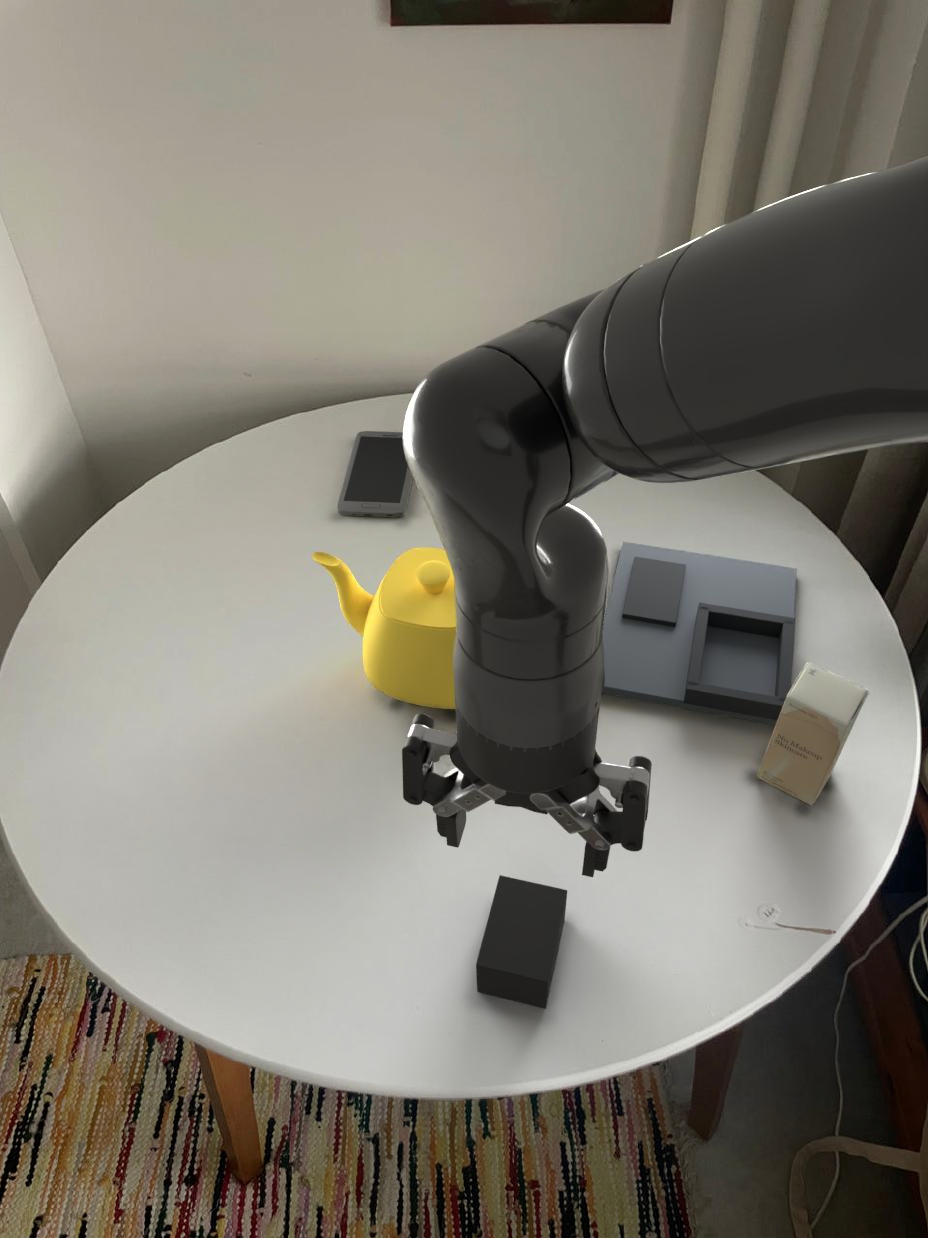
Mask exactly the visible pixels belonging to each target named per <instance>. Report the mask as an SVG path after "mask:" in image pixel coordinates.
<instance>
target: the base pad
mask: <svg viewBox="0 0 928 1238" xmlns="http://www.w3.org/2000/svg"><path fill="white" fill-rule="evenodd" d="M619 552H620V553H619V557H618V562H617V565H616V571H615V575H614V578H613V582H612V586H611V587H612V588H611V591H610V595H609V600H608V605H607V609H606V612H605V613H606V614H605V617H604V624H603V645H604V670H605V684H604V686H603V689H602V691H601V694H604V695H610V696H616V697H622V698H627V699H632V700H638V701H643V702H648V703H653V704H654V703H655V704H660V705H664V706H671V707H675V708H681V709H686V710H691V711H698V712H703V713H709V714H714V715H719V716H723V717H728V718H729V717H730V718H736V719H741V720H746V721H753V722H758V723H762V724H767V725H772V726H776V723H777V720H778V718H779V715H780V712H781V710H782V707H783V705H784V702H785V699H786V697H787V694H788V693H789V691H790V689H791V687H792V676H793V659H794V658H793V657H794V646H795V645H794V644H795V641H794V640H795V629H796V618H795V607H796V606H795V603H796V589H797V572H798V571H797V570H798V569H797V567H790V566H783V565H777V564H771V563H766V562H765V563H764V562H758V561H751V560H745V559H738V558H732V557H725V556H719V555H713V554H706V553H699V552H693V551H686V550H682V549H681V550H680V549H676V548H675V549H674V548H668V547H663V546H662V547H660V546H656V545H655V546H654V545H649V544H641V543H636V542H635V543H634V542H629V541H622V544H621V549H620V551H619Z"/></svg>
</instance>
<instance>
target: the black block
mask: <svg viewBox="0 0 928 1238" xmlns="http://www.w3.org/2000/svg"><path fill="white" fill-rule="evenodd" d="M567 899H568V890H567V889H563V888H559V887H555V886H550V885H545V884H541V883H537V882H532V881H528V880H523V879H519V878H514V877H511V876H505V875H498V880H497V884H496V887H495V890H494V895H493V899H492V903H491V906H490V911H489V914H488V917H487V922H486V925H485V928H484V933H483V937H482V941H481V944H480V948H479V952H478V956H477V960H476V963H475V971H476V972H475V973H476V992H477V993H480V994H484V995H488V996H492V997H496V998H500V999H505V1000H509V1001H513V1002H517V1003H520V1004H525V1005H528V1006H533V1007H536V1008H541V1009H547V1005H548V1001H549V996H550V992H551V987H552V982H553V978H554V971H555V969H556V968H555V967H556V963H557V958H558V953H559V948H560V943H561V939H562V934H563V930H564V924H565V919H566V909H567Z"/></svg>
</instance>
